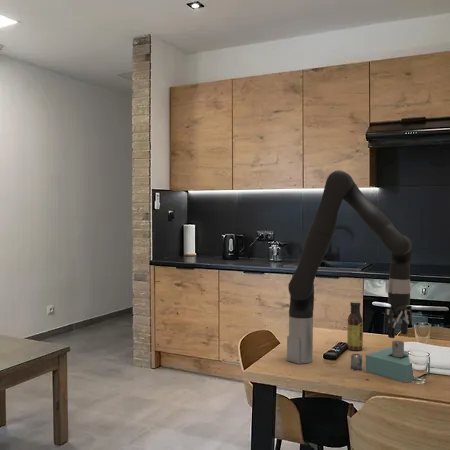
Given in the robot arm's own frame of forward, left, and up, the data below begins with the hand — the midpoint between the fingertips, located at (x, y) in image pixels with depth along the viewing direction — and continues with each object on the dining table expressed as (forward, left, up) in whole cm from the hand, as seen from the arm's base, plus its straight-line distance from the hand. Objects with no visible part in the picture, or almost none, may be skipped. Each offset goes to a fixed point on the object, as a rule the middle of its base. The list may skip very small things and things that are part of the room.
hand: (397, 335), depth 183 cm
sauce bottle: (+14, +28, -13) cm, 34 cm away
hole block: (0, 0, -13) cm, 13 cm away
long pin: (0, 0, -13) cm, 13 cm away
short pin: (-8, +12, -13) cm, 19 cm away
